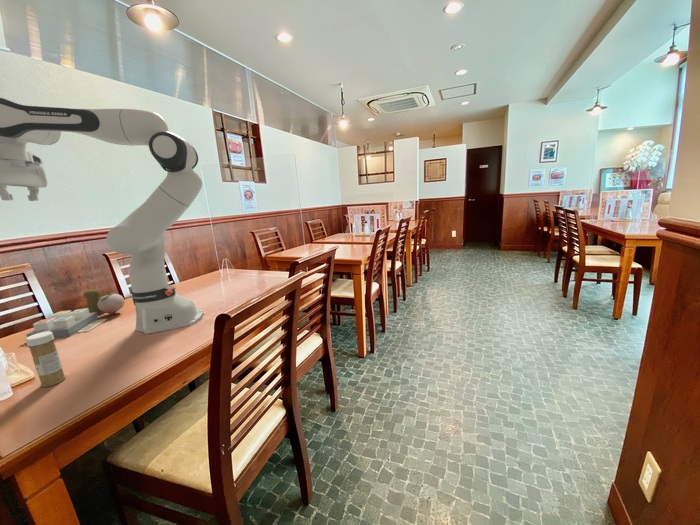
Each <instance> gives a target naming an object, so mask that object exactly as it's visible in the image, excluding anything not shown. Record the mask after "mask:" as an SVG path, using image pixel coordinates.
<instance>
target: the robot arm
mask: <svg viewBox="0 0 700 525" xmlns="http://www.w3.org/2000/svg"><path fill="white" fill-rule="evenodd" d="M61 132H64V133H66V132H67V133H75V134H78V135H79V134H80V135H84V136H86V137H89V138H90V137H91V138H94V139H96V140H99V141H101V142H105V143H109V144H113V145H119V146H120V145H121V146H129V147H130V146H132V147H133V146H148V148H149V151H150V153H151V155H152V156H153V158H154V159H155V160H156V162H157V163H158V164H159V165H160V167H161V168H162V170H164V171H165V172H167V173H166V174H167V175H166V176H165V178H164V179H163V180H162V182H160V184H159V185H158V186H157V187H156V188H155V190H154V191H153V192H152V193H151V194H150V195H149V196H148V198H147V199H146V200H145V201H144V202H143V203H142V204H141V205H140V206H138V207H137V208H135V210H133V211H132V212H131V213H130V214H128V215H127V216H126V217H125V218H124V219H123V220H122V221H121V222H119V223H118V224H117V225H116V226H113V227H112V228H110V230H108V232H107V234H106V243H107V245H108V247H109V248H110V249H111V251H113V252H115V253H117V254H118V255H119V254H120V255H126V256H130V262H129V263H130V264H129V265H128V266H129V267H128V270H127V273H128V277H129V278H128V279H129V282H130V283H129V284H130V287H131V292H130V294H131V297H132V302H133V305H134V307H135V315H136V316H135V317H136V319H135V330H136V331H137V332H141V333H143V334H144V335H148V334H153V333H154V334H155V333H159V332H163V331H168V330H172V329H179V328H183V327H187V326H188V325H189V326H192V325H194V324H196V323H198V322H200V320H201V319H202V318H203V317H204V315H203V314H204V310H203V309H197V306H196V304H195V303H194V301H193V300H192V299H189V298H187V297H184V296H182V295H180V294H178V293H177V292H176V289H177V286H176V285H174V286H172V285H170V284H169V282H168V276H167V270H166V266H165V265H166V264H165V248H166V247H165V246H166V245H165V242H166V239H167V230H169V228H171V226H173V225H174V224H175V223H176V222H177V221H178V220H179V219H180V218H181V216H183V214H184V213H185V212H186V211H187V210H188V208H189V207H190V206H191V205H192V203H193V202H194V201H195V199H196V198H197V197H198V196H199V193H200V192H201V189H202V187H203V181H202V179H201V177H200V176H199V174H198V173H197V172H195V171H194V169H195V168H196V166H197V165H198V162H199V155H198V152H197V150H196V148H194V146H193V145H191V144H190V143H189V142H188V141H187V140H186V139H184V137H183V138H182V137H181V136H179V135H178V134H176V133H174V132H171V131H169V127H168V124H167V122H166V121H165V119H164V118H163V117H162V116H161V115H160V114H158V113H156V112H153V111H148V110H144V109H143V110H142V109H136V108H135V109H133V108H67V107H53V106H51V107H50V106H38V105H24V104H20V103H16V102H15V101H14V102H13V101H12V100H10V99H6V98H3V97H2V96H1V97H0V198H1V200H2V201H13V200H14V198H13V194H12V193H11V194H10V193H9V191H8V190H7V188H8V187H9V186H10V187H20V188H21V187H22V188H27V191H29V192H28V193H29V194H28V195H27V198H28V201H30V202H36V201H39V192H40V188H42V189H43V188H46V187H47V186H48V180H47V175H46V172H45V169H44V167H43V164H44V163H43V159H42V158H41V157H39V156H37V155H36V154H34V153H32V152H31V151H30V150H28V148H27V145H26V144H28V143H32V144H36V145H39V146H40V145H41V146H51V145H54V144H56V143H57V142H58V141H59V140H60V138H61ZM7 186H8V187H7ZM202 316H203V317H202ZM197 321H198V322H197ZM189 326H188V327H189Z"/></svg>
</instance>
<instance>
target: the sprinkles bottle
mask: <svg viewBox="0 0 700 525" xmlns="http://www.w3.org/2000/svg"><path fill="white" fill-rule="evenodd" d="M25 343H26V344H27V347H28V348H29V351H30V354H31V357H32V361H33V364H34V367H35V371H36V374H37V376H38V379H39V382H40V386H41V387H42V388H46V387H47V388H48V387H52V386H54V385H57V384H59V383H61V382H62V381H64V380H65V379H66V377H67V376H66V375H65V373H64V370H63V365H62V361H61V358H60V355H59V352H58V349H57V347H56V344H55V339H54V336H53V334H52V332H49V331H47V332H41V333H37V334H34V335H31V336H29V337H27V336H26V338H25Z"/></svg>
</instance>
